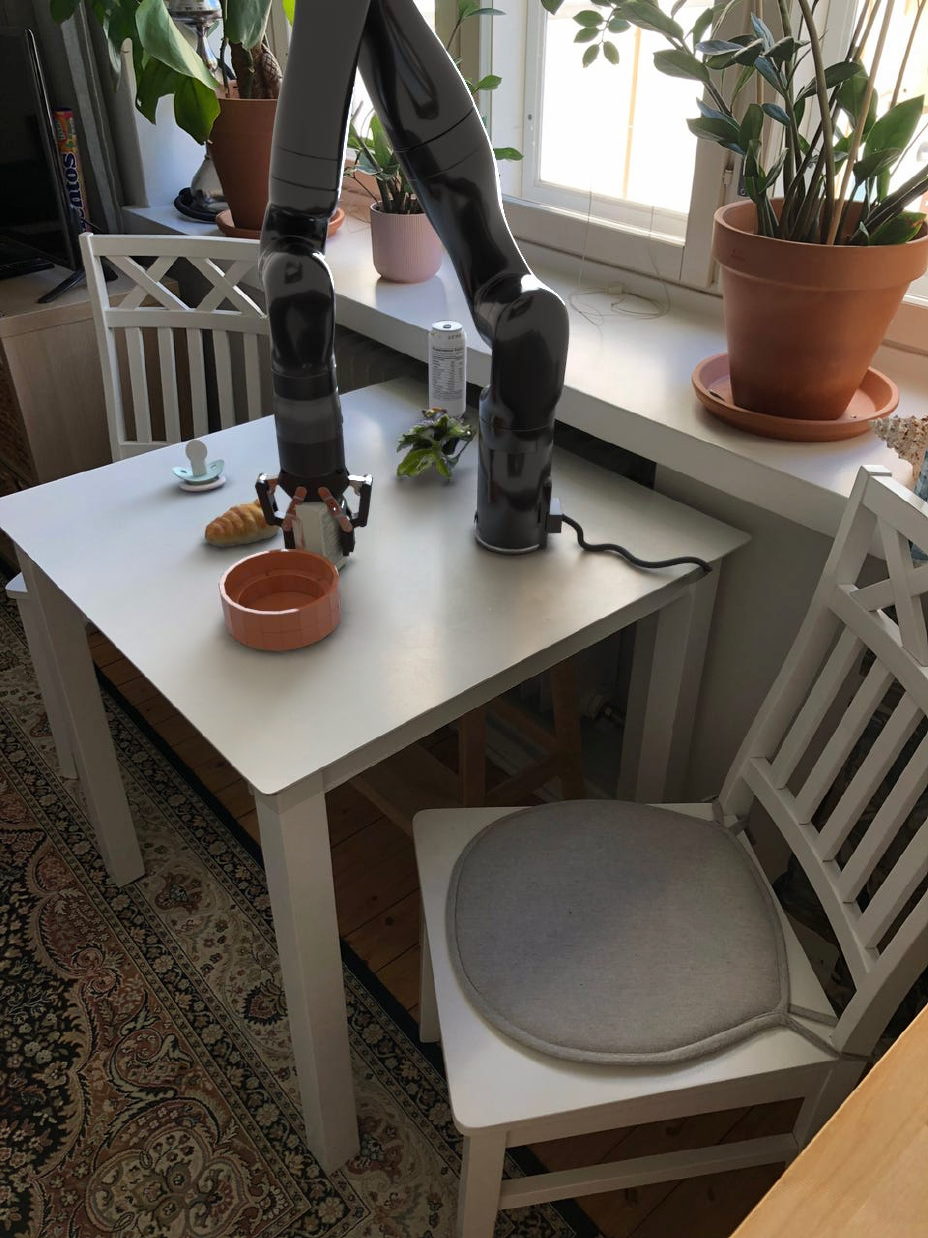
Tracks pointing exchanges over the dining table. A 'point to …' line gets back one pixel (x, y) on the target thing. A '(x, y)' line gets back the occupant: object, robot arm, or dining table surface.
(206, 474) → the pacifier
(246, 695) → the dining table surface
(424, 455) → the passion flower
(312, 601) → the bowl
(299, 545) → the printed white carton
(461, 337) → the energy drink can
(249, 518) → the pastry
